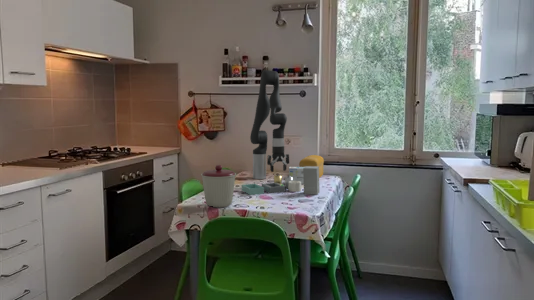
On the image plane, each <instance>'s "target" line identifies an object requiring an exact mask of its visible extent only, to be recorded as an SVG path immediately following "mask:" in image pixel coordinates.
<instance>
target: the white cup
mask: <svg viewBox="0 0 534 300" xmlns="http://www.w3.org/2000/svg"><path fill="white" fill-rule="evenodd" d="M287 190H288V191H289V192H290V193H291V192H292V193H299V192H301V191H302V184H301V182H300V181H289V182H288V189H287Z"/></svg>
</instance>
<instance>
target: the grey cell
mask: <svg viewBox="0 0 534 300" xmlns="http://www.w3.org/2000/svg"><path fill="white" fill-rule="evenodd" d="M284 181H285V182H284V186H285V190H288V182H289V181H293V177H290V176H289V175H288V176H284Z"/></svg>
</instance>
